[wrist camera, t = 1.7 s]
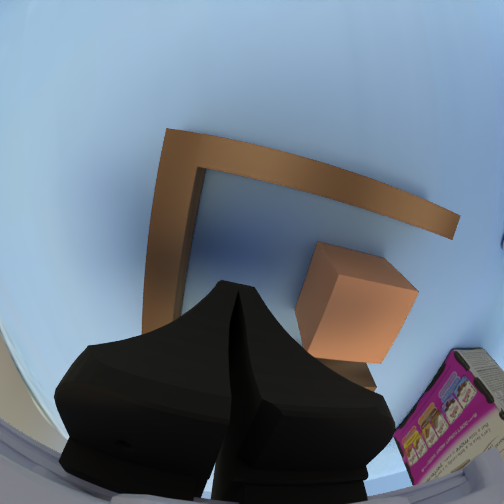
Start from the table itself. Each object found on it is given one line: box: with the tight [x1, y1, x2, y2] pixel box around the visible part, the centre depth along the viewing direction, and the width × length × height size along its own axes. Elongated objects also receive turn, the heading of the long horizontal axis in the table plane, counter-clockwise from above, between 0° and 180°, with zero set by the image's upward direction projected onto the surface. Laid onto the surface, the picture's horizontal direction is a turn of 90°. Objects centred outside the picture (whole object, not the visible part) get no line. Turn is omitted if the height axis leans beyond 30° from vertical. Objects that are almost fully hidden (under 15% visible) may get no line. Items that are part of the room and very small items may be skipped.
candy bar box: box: [393, 348, 504, 486], centre depth 11 cm, size 11×5×16 cm, turn 170°
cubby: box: [142, 128, 460, 392], centre depth 13 cm, size 13×11×3 cm
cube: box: [295, 241, 419, 364], centre depth 13 cm, size 4×4×4 cm
